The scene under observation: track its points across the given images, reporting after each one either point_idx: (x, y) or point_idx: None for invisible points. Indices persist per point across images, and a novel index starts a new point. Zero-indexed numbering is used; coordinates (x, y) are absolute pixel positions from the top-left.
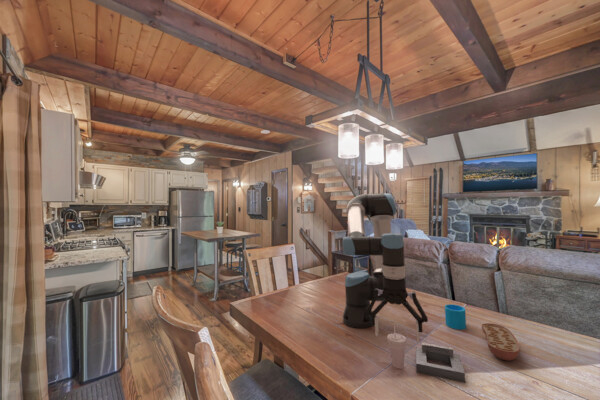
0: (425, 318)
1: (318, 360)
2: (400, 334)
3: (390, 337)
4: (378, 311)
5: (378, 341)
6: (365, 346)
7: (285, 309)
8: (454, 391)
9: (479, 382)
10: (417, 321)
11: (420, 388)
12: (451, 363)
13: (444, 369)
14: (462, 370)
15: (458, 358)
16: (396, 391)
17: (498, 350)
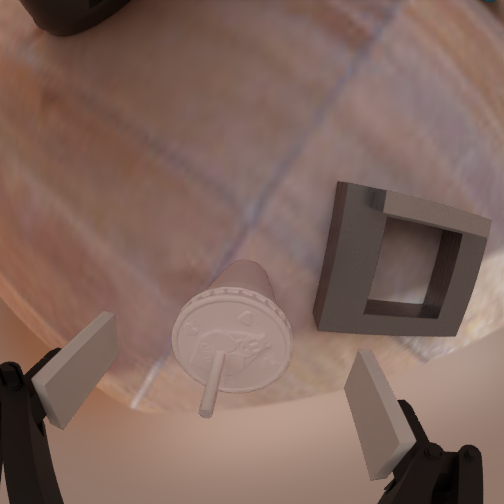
0: (442, 497)
1: (20, 299)
2: (259, 309)
3: (191, 362)
4: (51, 470)
5: (161, 98)
6: (107, 165)
7: None
8: (395, 365)
9: (472, 306)
10: (398, 457)
11: (305, 380)
12: (447, 293)
13: (409, 335)
14: (457, 324)
15: (479, 249)
16: (234, 401)
17: None
